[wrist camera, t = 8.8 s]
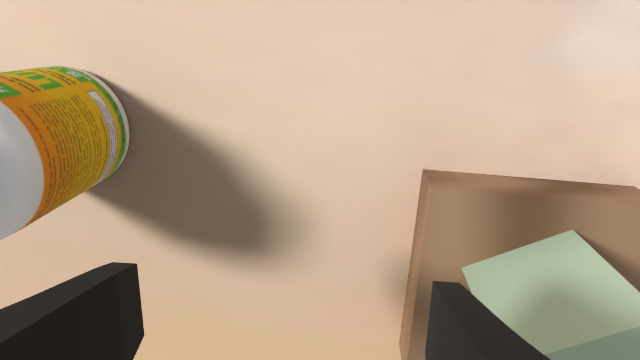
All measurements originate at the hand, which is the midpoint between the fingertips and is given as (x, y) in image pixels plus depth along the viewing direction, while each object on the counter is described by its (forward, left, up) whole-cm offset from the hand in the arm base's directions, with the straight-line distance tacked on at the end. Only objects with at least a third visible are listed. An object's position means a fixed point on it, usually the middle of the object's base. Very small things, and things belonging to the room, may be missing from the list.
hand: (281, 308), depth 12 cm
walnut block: (-9, +4, -11) cm, 15 cm away
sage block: (-9, +4, -8) cm, 13 cm away
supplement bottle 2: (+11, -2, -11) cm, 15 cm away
